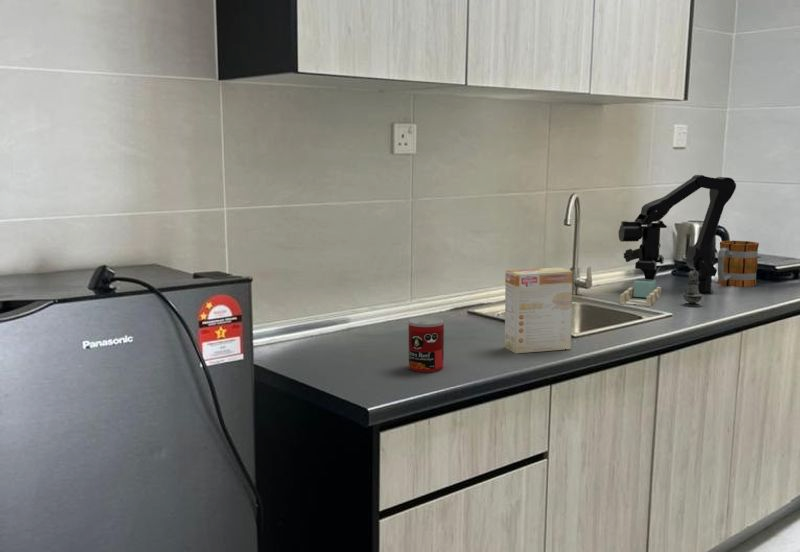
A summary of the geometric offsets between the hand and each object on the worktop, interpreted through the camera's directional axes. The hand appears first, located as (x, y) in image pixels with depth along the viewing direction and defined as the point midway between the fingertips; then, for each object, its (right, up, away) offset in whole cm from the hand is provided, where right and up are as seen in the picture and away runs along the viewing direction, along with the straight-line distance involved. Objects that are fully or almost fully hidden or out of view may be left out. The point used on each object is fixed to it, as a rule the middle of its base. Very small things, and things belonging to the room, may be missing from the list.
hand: (648, 287), depth 266 cm
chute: (-6, -4, -12) cm, 14 cm away
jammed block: (-4, -3, -7) cm, 8 cm away
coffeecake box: (-50, -14, -73) cm, 89 cm away
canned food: (-78, -17, -89) cm, 120 cm away
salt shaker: (+7, -6, -21) cm, 23 cm away
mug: (+35, 0, +15) cm, 38 cm away
